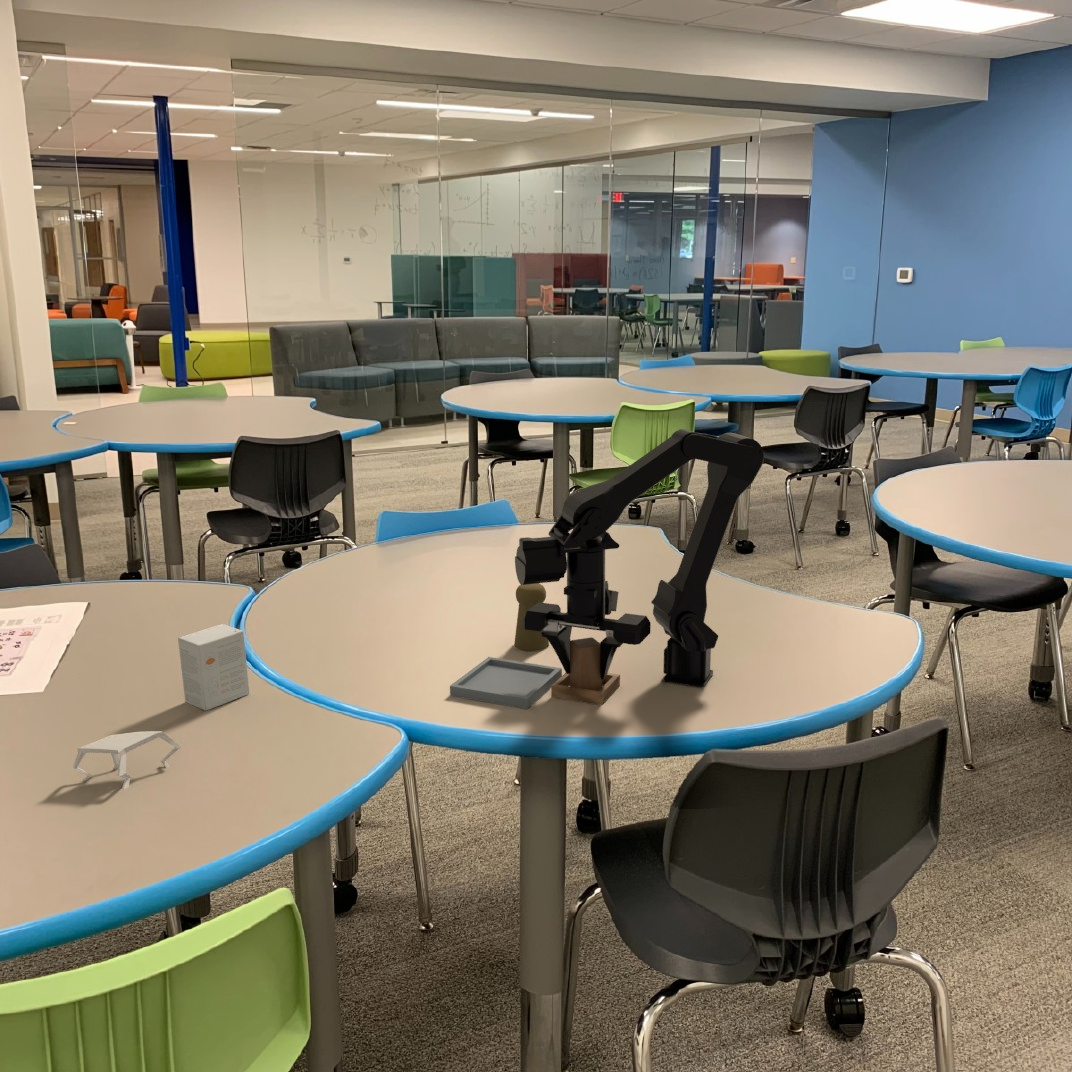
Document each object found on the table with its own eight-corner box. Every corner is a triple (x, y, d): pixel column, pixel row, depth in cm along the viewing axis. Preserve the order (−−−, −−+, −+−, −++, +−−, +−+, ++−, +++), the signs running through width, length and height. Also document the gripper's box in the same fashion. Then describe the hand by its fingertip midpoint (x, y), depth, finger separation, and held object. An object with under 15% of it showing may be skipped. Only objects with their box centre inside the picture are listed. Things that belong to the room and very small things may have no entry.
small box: (229, 685, 159) (223, 622, 156) (250, 694, 156) (244, 630, 153) (183, 702, 153) (176, 636, 150) (204, 711, 150) (197, 645, 147)
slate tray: (561, 677, 160) (561, 668, 160) (527, 709, 149) (527, 699, 148) (488, 666, 166) (488, 656, 165) (450, 695, 154) (449, 685, 154)
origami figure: (97, 802, 124) (92, 766, 123) (73, 779, 130) (68, 744, 129) (191, 770, 132) (187, 735, 131) (164, 749, 138) (160, 716, 137)
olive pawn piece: (519, 653, 171) (517, 591, 168) (510, 641, 177) (509, 580, 174) (553, 649, 173) (552, 587, 170) (543, 637, 178) (542, 577, 176)
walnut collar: (619, 685, 157) (620, 674, 157) (601, 705, 150) (601, 694, 149) (571, 677, 160) (571, 667, 160) (551, 696, 153) (551, 685, 153)
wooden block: (569, 688, 156) (568, 639, 154) (592, 684, 158) (592, 636, 156) (579, 698, 153) (579, 648, 151) (603, 694, 154) (603, 644, 152)
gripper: (662, 570, 154) (660, 666, 158) (550, 558, 161) (550, 650, 165) (639, 590, 144) (637, 692, 148) (520, 576, 152) (522, 674, 155)
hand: (586, 675), depth 154 cm, fingers closed on wooden block, 5 cm apart
